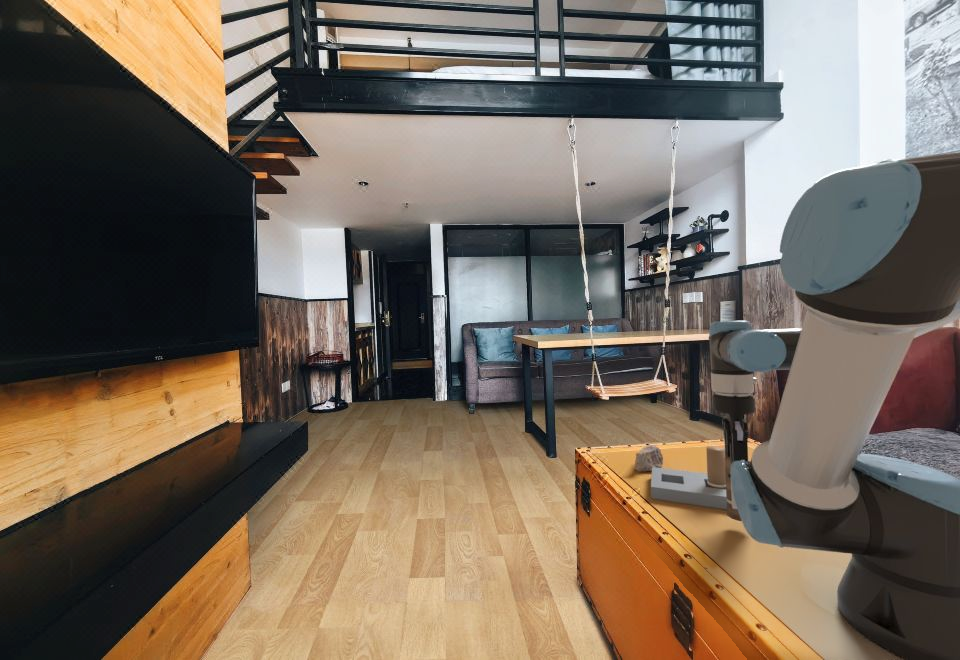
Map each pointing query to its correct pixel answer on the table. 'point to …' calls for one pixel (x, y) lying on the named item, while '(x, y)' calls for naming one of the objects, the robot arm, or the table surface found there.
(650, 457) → the mineral specimen
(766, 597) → the table surface
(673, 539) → the table surface
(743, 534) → the table surface
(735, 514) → the dowel
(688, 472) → the board
